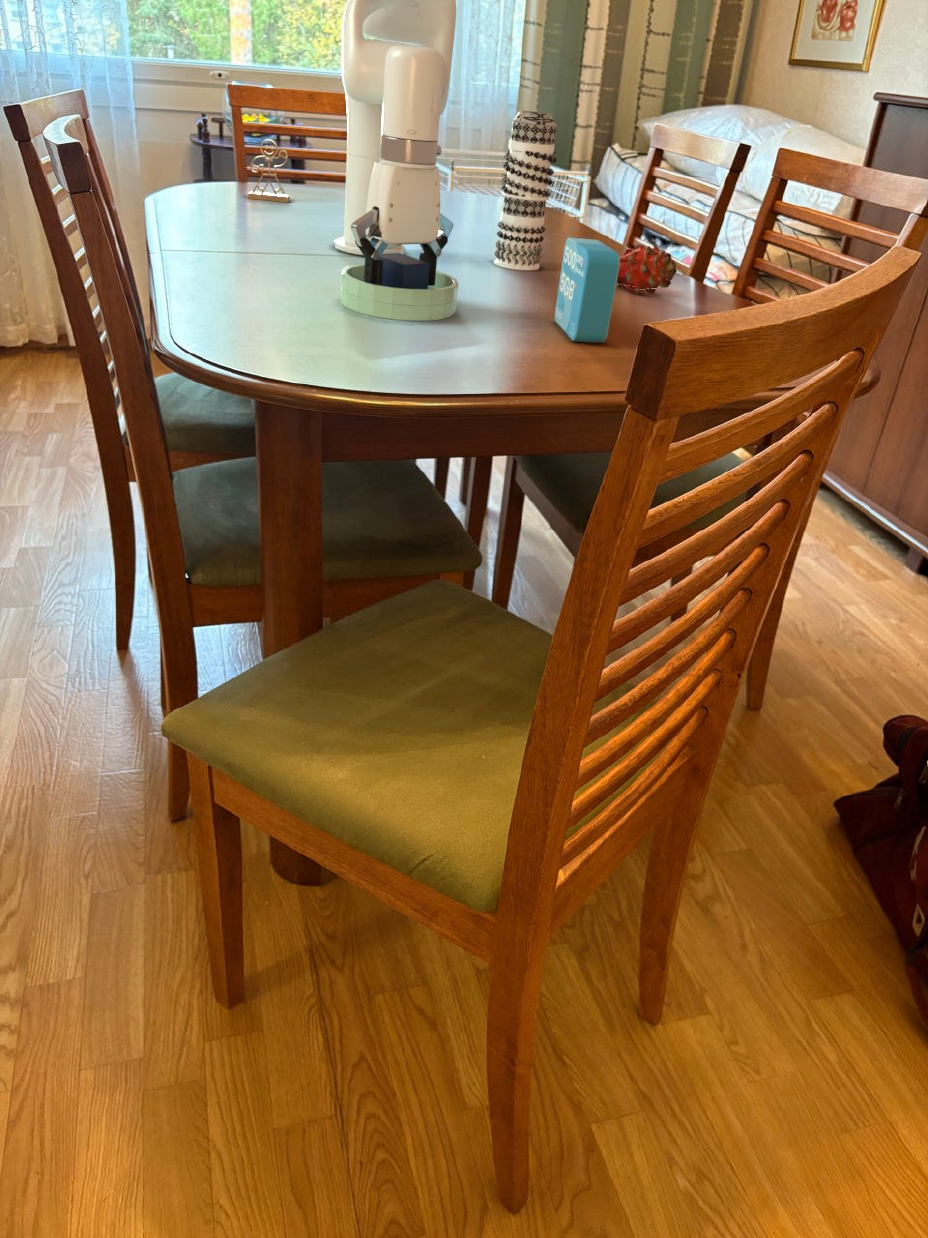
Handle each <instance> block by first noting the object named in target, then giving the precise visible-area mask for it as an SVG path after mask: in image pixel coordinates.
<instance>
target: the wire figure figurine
mask: <svg viewBox="0 0 928 1238" xmlns="http://www.w3.org/2000/svg"><path fill="white" fill-rule="evenodd" d="M268 141H269V142H271V143H273V144H274V146H273V145H270V146H269V145H267V144H265V145H264V143H265V142H268ZM263 148H264V149H265V150H263ZM259 149H260V152H261V154H262V155H257V156H255V157H254V158H253V159H252V160H251V162H250V166H249V169H250V171H251V172H252V173H254V174H256V173H259V171H260V168H261V176H260V177H259V179H258V182H257V183H256V185H255V187H254V189H253V191H252V190H251V191H249V192H248V193H247V199H249V200H260V201H271V202H280V203H289V202H290V201H291V196H290V195H289V194H285V191H284V189H283V187H282V185H281V183H280V182H279V179H278V177H277V168H280V167H283V166H284V165H285V164H286V162H287V161H288V157H289V154H288V152H287V151H286V150H285V149H281V150H280V151H279V152H278V145H277V143H276V142H275V141H274V140H273V139H270V138H267V139H264V140H263V141H262V142H261V143H260V148H259ZM267 149H270V150H271V151H272V152H267ZM274 150H275V151H274ZM282 152H283V153H285V155H286V156H285V155H283V154H281V153H282ZM277 154H278V155H277ZM276 155H277V156H276ZM259 158H264V161H265V163H266V162H267V166H268V169H267V172H268V173H267V172H264V164H263V163H261V164H259V165H256V164H254V161H255V160H257V159H259ZM279 158H281V159H283V160H284V162H283V163H282V164H279V165H274V173H271V171H272V170H271V164H272V163H273V162H274V159H275V160H276V159H279ZM253 168H255V169H257V170H254V169H253ZM264 176H266V177H274V179H275V180H276V182H277V184H278V186H279V187H278V188H277V189H275V188H274V186H273V184H272V182H271V180H270V179H268V181H267V182H266V184H265V186H264V187H262V186H260V185H259V184H260V182H261V180H262V179H263V177H264ZM268 185H269V186H270V187H271V190H272V191H273V192H272V193H271V192H265V190H266V189H267V187H268ZM256 189H259V190H260V191H256ZM280 191H281V192H282V194H281V193H278V192H280Z"/></svg>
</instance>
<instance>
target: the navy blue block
mask: <svg viewBox="0 0 928 1238" xmlns="http://www.w3.org/2000/svg"><path fill="white" fill-rule="evenodd" d="M379 259H381V260H383V275H382V286H387V287H394V288H405V289H428V280H429V268H430V263H428V262H425V261H422V260H419V258H415V257H412V256H409V255H406V254H405V253H404V254H401V253H388V254H382V255H381V256H380V258H379Z"/></svg>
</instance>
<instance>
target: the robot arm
mask: <svg viewBox="0 0 928 1238" xmlns="http://www.w3.org/2000/svg"><path fill="white" fill-rule="evenodd" d="M344 7H345V8H344V12H343V17H342V22H341V23H342V24H341V76H342V83H343V87H344V93H345V102H346V103H345V104H346V116H347V117H346V118H347V119H346V120H347V122H346V123H347V125H346V126H347V127H346V128H347V132H346V133H347V135H346V163H345V164H346V167H345V195H344V220H343V222H344V223H343V237H339V238H337V239H335V240H334V247H335V249H336V250H338V251H341V252H344V253H346V254H351V255H357V256H363V257H364V264H365V270H364V279H365V281H364V282H367V283H371V284H375V285H381V286H382V275H383V260H381V259H379V258H380V256H381V255H382V254H388V253H401V254H404V255H405V250H406V247H405V245H420V248H421V250H422V252H420V253H419V257H418V259H419V260H422V261H425V262H428V263H430V268H429V280H428V285H429V286H434V285H435V277H436V271H437V264H438V258H439V257H441V256H442V253H443V252H442V251H443V249H444V248H445V246H446V245H447V243H448V242H449V237H450V236H451V233H452V231H453V228H454V223H453V221H451V220H450V219H449V218H447V216H445V215H443V214H442V213H441V181H440V171H439V166H437V157H439V156H441V154H442V146H440V144H438V143H439V131H440V119H441V117H440V116H442V115H443V114H444V112H445V110H446V107H447V104H448V103H447V102H448V99H449V92H450V82H451V72H452V63H453V52H454V43H455V33H456V22H457V0H347V2H346V5H345V6H344ZM363 34H364V35H366V36H367V37H369V38H365V37H364V35H363ZM370 38H373V39H370Z"/></svg>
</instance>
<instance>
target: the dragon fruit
mask: <svg viewBox="0 0 928 1238" xmlns="http://www.w3.org/2000/svg"><path fill="white" fill-rule="evenodd" d="M652 246H653V247H652V248H651V246H647V247H646V246H645V245H643V244H637V243H636V244H635V248H627V249H625V251H624V253H623V254H622V255H619V257H620V267H619V273H618V278H617V284H616V288H617V287H618V288H620V289H625V290H626V291H634V290H635V294H637V295H638V294H640V293H643V292H646V293H647V294H651V295H653V294H655V293H656V290H657V289H658V287H661V288H668V287H670V285H671V284H672V280H673V279H674V277H675V275H676V273H677V272H678V270H677V268H676V267H677V263H676V262H675V260H674V259H672V255H671V253H670V252H666V251H665V250H664V249H660V248H659V246H658V245H656V244H655V243H653V244H652ZM618 284H619V285H618ZM628 285H630V286H628ZM632 286H635V287H632ZM636 288H637V289H636ZM647 288H649V289H647ZM651 288H656V289H651ZM639 289H646V290H639Z"/></svg>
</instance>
